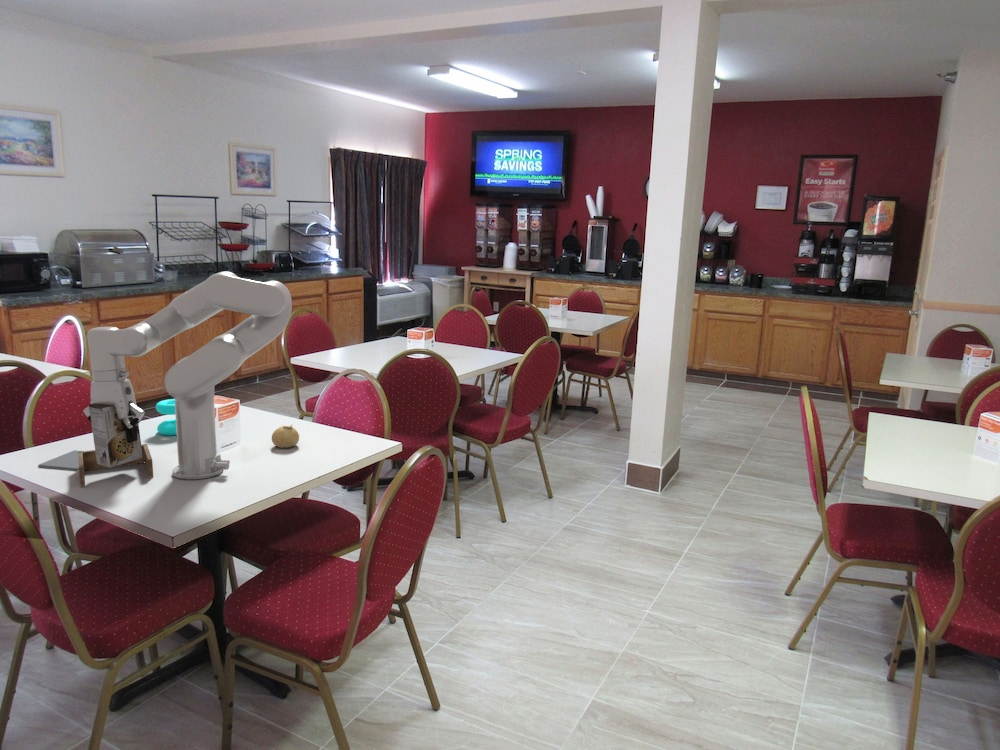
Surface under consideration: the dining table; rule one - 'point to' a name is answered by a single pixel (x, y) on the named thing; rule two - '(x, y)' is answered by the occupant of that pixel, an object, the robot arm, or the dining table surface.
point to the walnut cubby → (89, 462)
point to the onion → (285, 436)
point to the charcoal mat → (64, 461)
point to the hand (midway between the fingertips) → (117, 440)
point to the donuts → (167, 409)
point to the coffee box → (112, 437)
